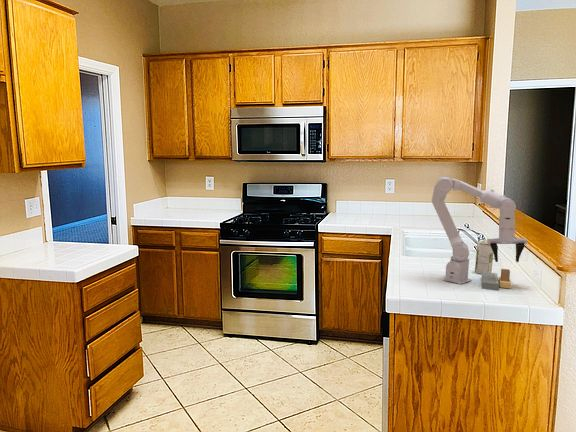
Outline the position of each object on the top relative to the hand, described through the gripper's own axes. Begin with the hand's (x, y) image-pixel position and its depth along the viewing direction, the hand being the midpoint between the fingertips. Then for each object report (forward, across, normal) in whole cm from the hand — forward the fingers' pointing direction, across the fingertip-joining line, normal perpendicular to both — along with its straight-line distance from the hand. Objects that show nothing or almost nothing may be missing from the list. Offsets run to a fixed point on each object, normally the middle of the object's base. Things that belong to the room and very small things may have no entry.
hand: (506, 261), depth 189 cm
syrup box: (+9, -7, +18) cm, 22 cm away
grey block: (+9, -6, 0) cm, 11 cm away
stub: (+9, -1, -1) cm, 9 cm away
